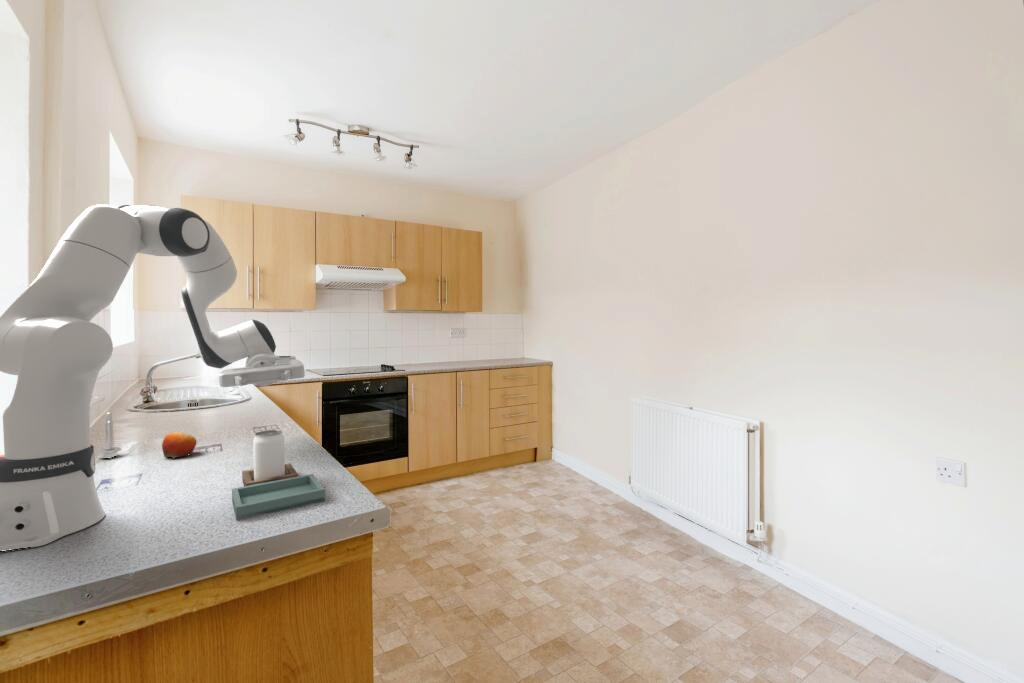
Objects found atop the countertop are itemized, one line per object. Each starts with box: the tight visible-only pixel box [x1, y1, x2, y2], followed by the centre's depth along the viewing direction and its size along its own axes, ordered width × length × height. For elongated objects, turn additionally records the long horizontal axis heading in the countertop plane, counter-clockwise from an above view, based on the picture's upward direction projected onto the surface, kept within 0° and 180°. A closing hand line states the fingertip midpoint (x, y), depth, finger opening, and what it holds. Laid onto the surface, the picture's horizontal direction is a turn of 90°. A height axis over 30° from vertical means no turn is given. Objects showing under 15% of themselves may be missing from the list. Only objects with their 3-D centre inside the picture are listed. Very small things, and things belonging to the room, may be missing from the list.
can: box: [252, 429, 286, 480], centre depth 106 cm, size 6×6×12 cm
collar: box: [241, 462, 299, 487], centre depth 106 cm, size 10×10×2 cm
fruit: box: [161, 431, 197, 460], centre depth 128 cm, size 8×8×8 cm
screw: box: [98, 411, 122, 458], centre depth 127 cm, size 13×5×5 cm
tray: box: [231, 473, 326, 521], centre depth 95 cm, size 16×12×2 cm
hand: (263, 379), depth 116 cm, fingers open, 8 cm apart
